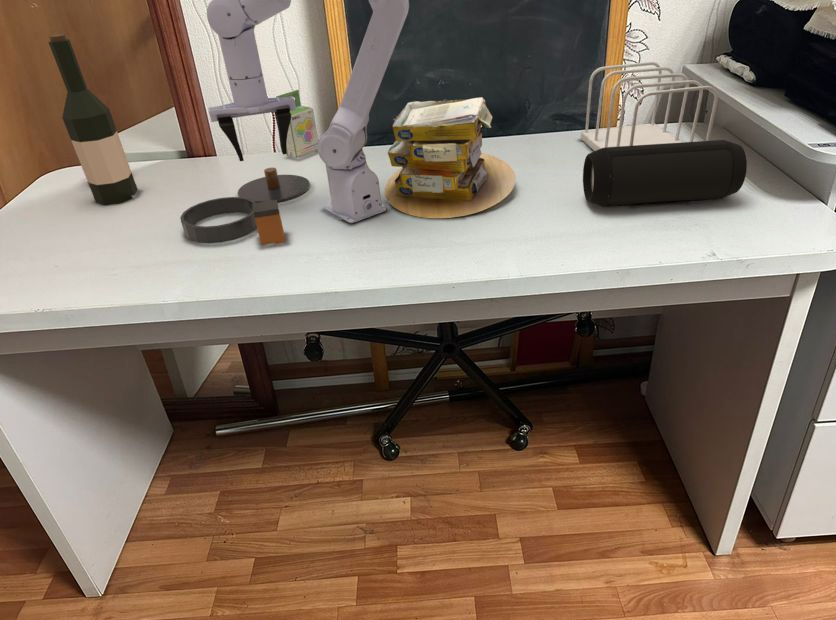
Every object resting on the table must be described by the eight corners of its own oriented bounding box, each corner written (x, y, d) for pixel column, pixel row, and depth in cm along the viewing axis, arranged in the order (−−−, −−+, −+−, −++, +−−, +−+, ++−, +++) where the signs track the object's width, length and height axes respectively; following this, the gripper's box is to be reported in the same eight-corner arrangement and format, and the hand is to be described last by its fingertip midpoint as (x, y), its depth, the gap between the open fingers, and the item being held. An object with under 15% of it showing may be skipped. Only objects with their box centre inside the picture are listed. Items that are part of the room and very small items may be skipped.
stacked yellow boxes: (480, 227, 106) (478, 128, 96) (360, 206, 116) (348, 114, 107) (534, 178, 123) (537, 89, 113) (425, 163, 133) (420, 81, 124)
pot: (274, 228, 110) (270, 210, 108) (204, 253, 104) (198, 234, 102) (241, 208, 119) (237, 191, 117) (174, 230, 112) (169, 212, 110)
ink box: (298, 160, 139) (287, 98, 132) (286, 158, 142) (274, 96, 134) (321, 151, 144) (311, 90, 136) (309, 149, 146) (298, 88, 138)
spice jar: (284, 234, 108) (276, 199, 104) (285, 244, 105) (278, 208, 101) (261, 238, 107) (252, 203, 104) (261, 248, 104) (253, 212, 100)
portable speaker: (717, 186, 115) (729, 131, 109) (740, 207, 106) (755, 149, 101) (579, 195, 115) (584, 140, 109) (592, 217, 107) (598, 159, 101)
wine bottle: (123, 205, 123) (61, 39, 106) (86, 204, 125) (19, 40, 107) (146, 189, 130) (92, 30, 112) (111, 188, 131) (52, 31, 114)
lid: (323, 191, 123) (320, 168, 121) (259, 213, 116) (253, 189, 114) (288, 174, 133) (284, 152, 130) (227, 193, 126) (221, 170, 123)
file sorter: (579, 139, 140) (586, 65, 131) (653, 132, 142) (664, 58, 133) (624, 178, 120) (635, 94, 111) (709, 169, 122) (726, 84, 113)
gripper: (201, 86, 100) (223, 169, 107) (292, 74, 103) (306, 156, 111) (200, 77, 105) (220, 157, 113) (286, 67, 108) (300, 144, 116)
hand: (263, 156), depth 112 cm, fingers open, 7 cm apart
